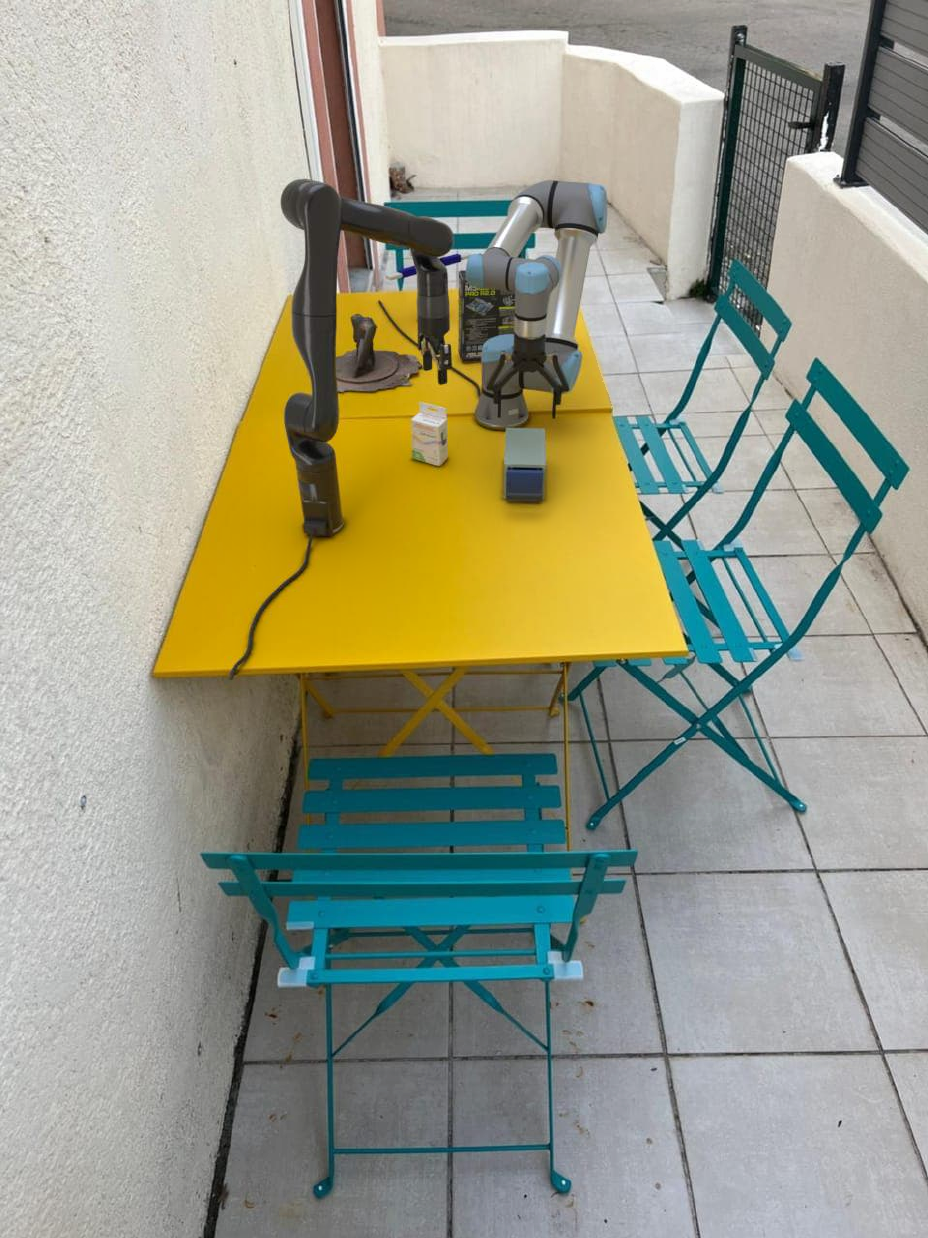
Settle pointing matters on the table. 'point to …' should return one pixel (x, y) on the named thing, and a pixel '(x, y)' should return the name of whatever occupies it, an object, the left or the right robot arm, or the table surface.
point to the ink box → (429, 435)
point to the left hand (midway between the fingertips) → (435, 376)
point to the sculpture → (371, 362)
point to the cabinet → (525, 450)
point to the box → (482, 317)
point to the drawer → (524, 484)
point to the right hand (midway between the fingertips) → (526, 415)
